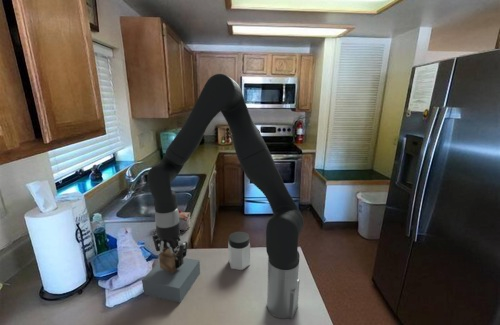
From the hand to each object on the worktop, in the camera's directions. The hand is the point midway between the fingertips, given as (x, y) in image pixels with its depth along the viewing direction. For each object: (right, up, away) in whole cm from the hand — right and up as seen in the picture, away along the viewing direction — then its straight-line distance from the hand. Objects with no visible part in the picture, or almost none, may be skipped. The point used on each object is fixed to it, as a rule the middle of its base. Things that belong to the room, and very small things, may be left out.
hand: (171, 264), depth 82 cm
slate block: (0, -8, +2) cm, 8 cm away
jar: (+23, -5, +13) cm, 27 cm away
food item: (-10, +2, +38) cm, 40 cm away
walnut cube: (0, -1, 0) cm, 1 cm away
